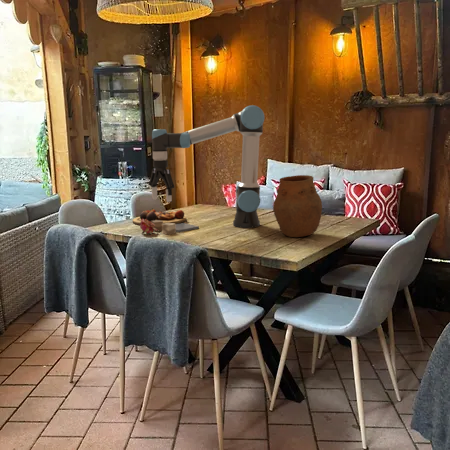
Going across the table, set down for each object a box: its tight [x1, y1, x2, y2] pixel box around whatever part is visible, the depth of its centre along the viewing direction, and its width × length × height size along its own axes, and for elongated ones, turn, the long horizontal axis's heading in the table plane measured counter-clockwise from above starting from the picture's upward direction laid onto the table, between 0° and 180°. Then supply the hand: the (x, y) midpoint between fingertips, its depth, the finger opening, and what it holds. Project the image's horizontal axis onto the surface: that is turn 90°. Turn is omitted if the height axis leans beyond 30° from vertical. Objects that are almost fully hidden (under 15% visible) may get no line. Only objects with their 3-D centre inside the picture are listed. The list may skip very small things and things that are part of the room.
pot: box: [272, 174, 323, 238], centre depth 216 cm, size 24×24×30 cm
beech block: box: [161, 223, 177, 235], centre depth 227 cm, size 5×5×5 cm
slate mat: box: [175, 222, 200, 233], centre depth 239 cm, size 14×14×1 cm
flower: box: [139, 218, 157, 235], centre depth 226 cm, size 10×9×8 cm
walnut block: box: [151, 220, 163, 232], centre depth 235 cm, size 5×5×5 cm
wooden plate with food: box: [132, 208, 187, 226], centre depth 260 cm, size 32×32×8 cm
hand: (161, 200), depth 228 cm, fingers open, 13 cm apart
